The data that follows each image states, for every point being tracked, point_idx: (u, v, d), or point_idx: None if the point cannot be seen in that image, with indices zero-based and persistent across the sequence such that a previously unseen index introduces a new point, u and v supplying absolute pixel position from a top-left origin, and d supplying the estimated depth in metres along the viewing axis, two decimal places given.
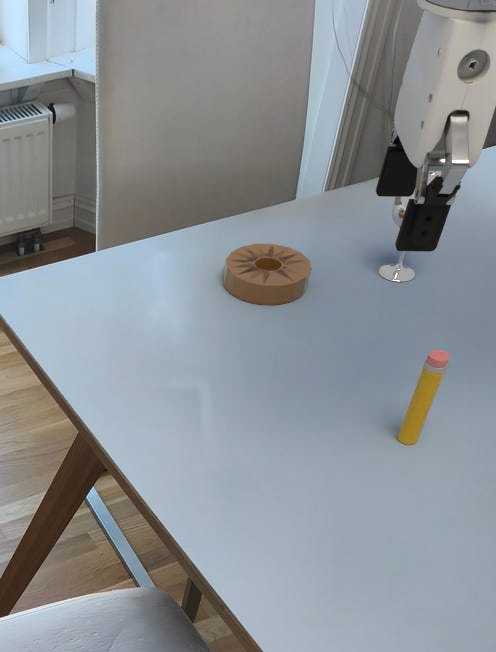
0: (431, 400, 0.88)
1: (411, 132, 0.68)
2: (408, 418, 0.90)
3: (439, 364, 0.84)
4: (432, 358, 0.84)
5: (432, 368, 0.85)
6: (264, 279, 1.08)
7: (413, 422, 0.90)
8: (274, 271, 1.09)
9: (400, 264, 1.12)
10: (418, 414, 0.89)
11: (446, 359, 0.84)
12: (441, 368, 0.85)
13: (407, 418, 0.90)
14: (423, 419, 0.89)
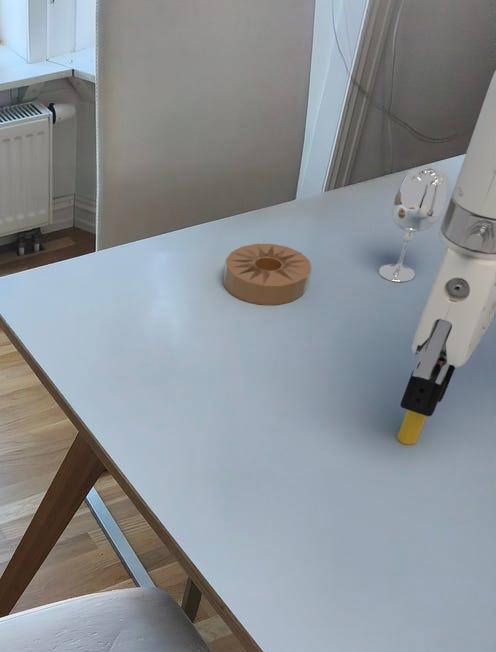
0: None
1: None
2: (408, 418, 0.90)
3: (439, 364, 0.84)
4: None
5: None
6: (264, 279, 1.08)
7: (413, 422, 0.90)
8: (274, 271, 1.09)
9: (400, 264, 1.12)
10: (418, 414, 0.89)
11: None
12: None
13: (407, 418, 0.90)
14: (423, 419, 0.89)
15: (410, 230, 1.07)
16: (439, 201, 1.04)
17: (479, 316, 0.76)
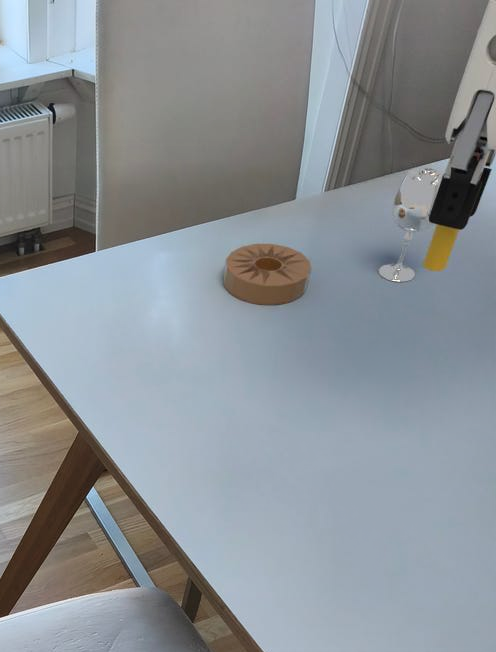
0: None
1: None
2: (437, 236, 0.80)
3: None
4: None
5: None
6: (264, 279, 1.08)
7: (442, 241, 0.79)
8: (274, 271, 1.09)
9: (400, 264, 1.12)
10: (448, 230, 0.79)
11: None
12: None
13: (435, 237, 0.80)
14: (454, 237, 0.79)
15: (410, 230, 1.07)
16: None
17: None
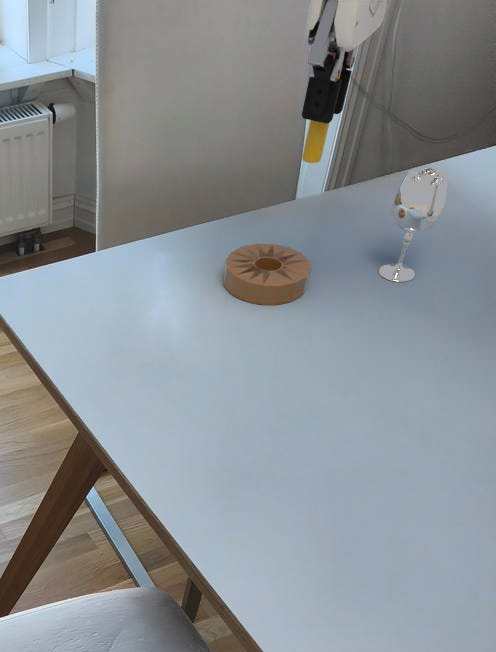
0: None
1: None
2: (310, 131, 0.94)
3: None
4: None
5: None
6: (264, 279, 1.08)
7: (314, 135, 0.94)
8: (274, 271, 1.09)
9: (400, 264, 1.12)
10: (319, 125, 0.93)
11: None
12: None
13: (309, 132, 0.94)
14: (324, 131, 0.94)
15: (410, 230, 1.07)
16: (439, 201, 1.04)
17: None
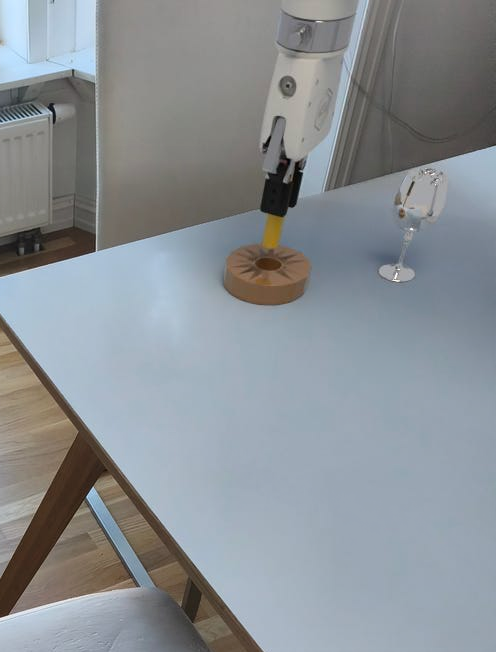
0: None
1: None
2: (268, 222, 1.06)
3: None
4: None
5: None
6: (264, 279, 1.08)
7: (271, 225, 1.06)
8: (274, 271, 1.09)
9: (400, 264, 1.12)
10: (275, 217, 1.05)
11: None
12: None
13: (267, 223, 1.06)
14: (280, 222, 1.06)
15: (410, 230, 1.07)
16: (439, 201, 1.04)
17: (306, 110, 0.92)
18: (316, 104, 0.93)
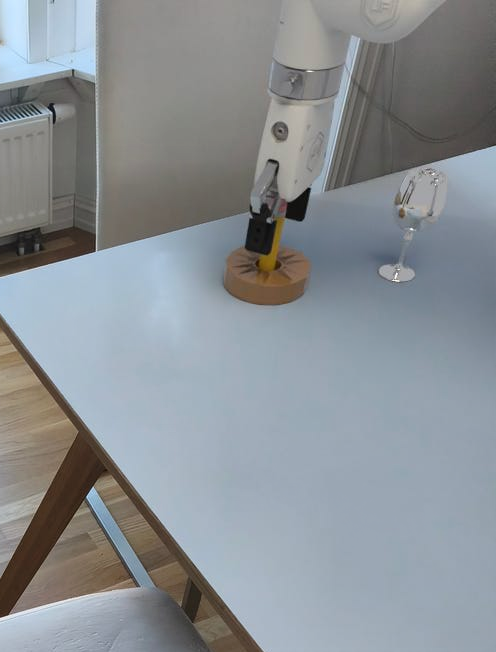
0: (277, 243, 1.08)
1: None
2: (261, 260, 1.10)
3: (278, 209, 1.05)
4: None
5: None
6: (264, 279, 1.08)
7: (265, 264, 1.10)
8: (274, 271, 1.09)
9: (400, 264, 1.12)
10: (268, 256, 1.09)
11: (284, 205, 1.04)
12: (280, 212, 1.05)
13: (260, 261, 1.10)
14: (273, 261, 1.10)
15: (410, 230, 1.07)
16: (439, 201, 1.04)
17: (298, 153, 0.96)
18: (308, 148, 0.97)
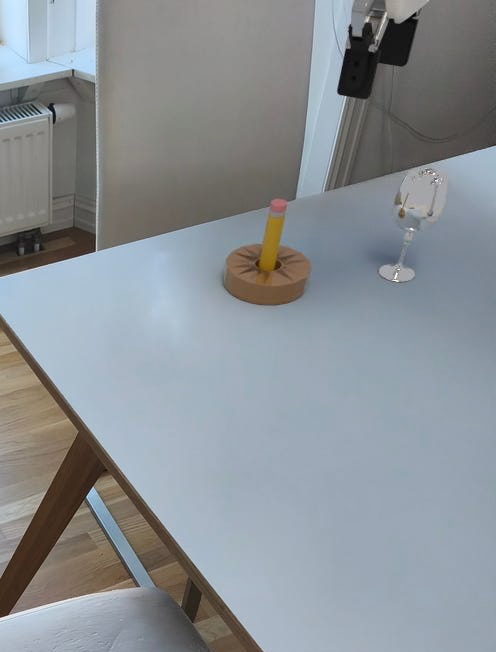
0: (277, 243, 1.08)
1: None
2: (261, 260, 1.10)
3: (278, 209, 1.05)
4: (273, 204, 1.05)
5: (273, 213, 1.05)
6: (264, 279, 1.08)
7: (265, 264, 1.10)
8: (274, 271, 1.09)
9: (400, 264, 1.12)
10: (268, 256, 1.09)
11: (284, 205, 1.04)
12: (280, 212, 1.05)
13: (260, 261, 1.10)
14: (273, 261, 1.10)
15: (410, 230, 1.07)
16: (439, 201, 1.04)
17: None
18: None
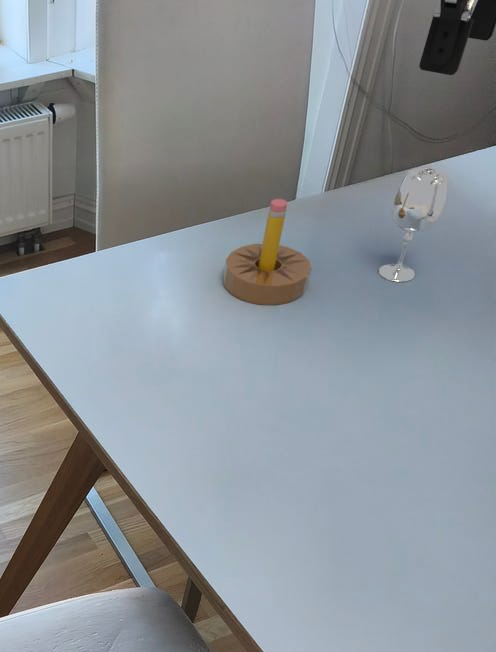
0: (277, 243, 1.08)
1: None
2: (261, 260, 1.10)
3: (278, 209, 1.05)
4: (273, 204, 1.05)
5: (273, 213, 1.05)
6: (264, 279, 1.08)
7: (265, 264, 1.10)
8: (274, 271, 1.09)
9: (400, 264, 1.12)
10: (268, 256, 1.09)
11: (284, 205, 1.04)
12: (280, 212, 1.05)
13: (260, 261, 1.10)
14: (273, 261, 1.10)
15: (410, 230, 1.07)
16: (439, 201, 1.04)
17: None
18: None
